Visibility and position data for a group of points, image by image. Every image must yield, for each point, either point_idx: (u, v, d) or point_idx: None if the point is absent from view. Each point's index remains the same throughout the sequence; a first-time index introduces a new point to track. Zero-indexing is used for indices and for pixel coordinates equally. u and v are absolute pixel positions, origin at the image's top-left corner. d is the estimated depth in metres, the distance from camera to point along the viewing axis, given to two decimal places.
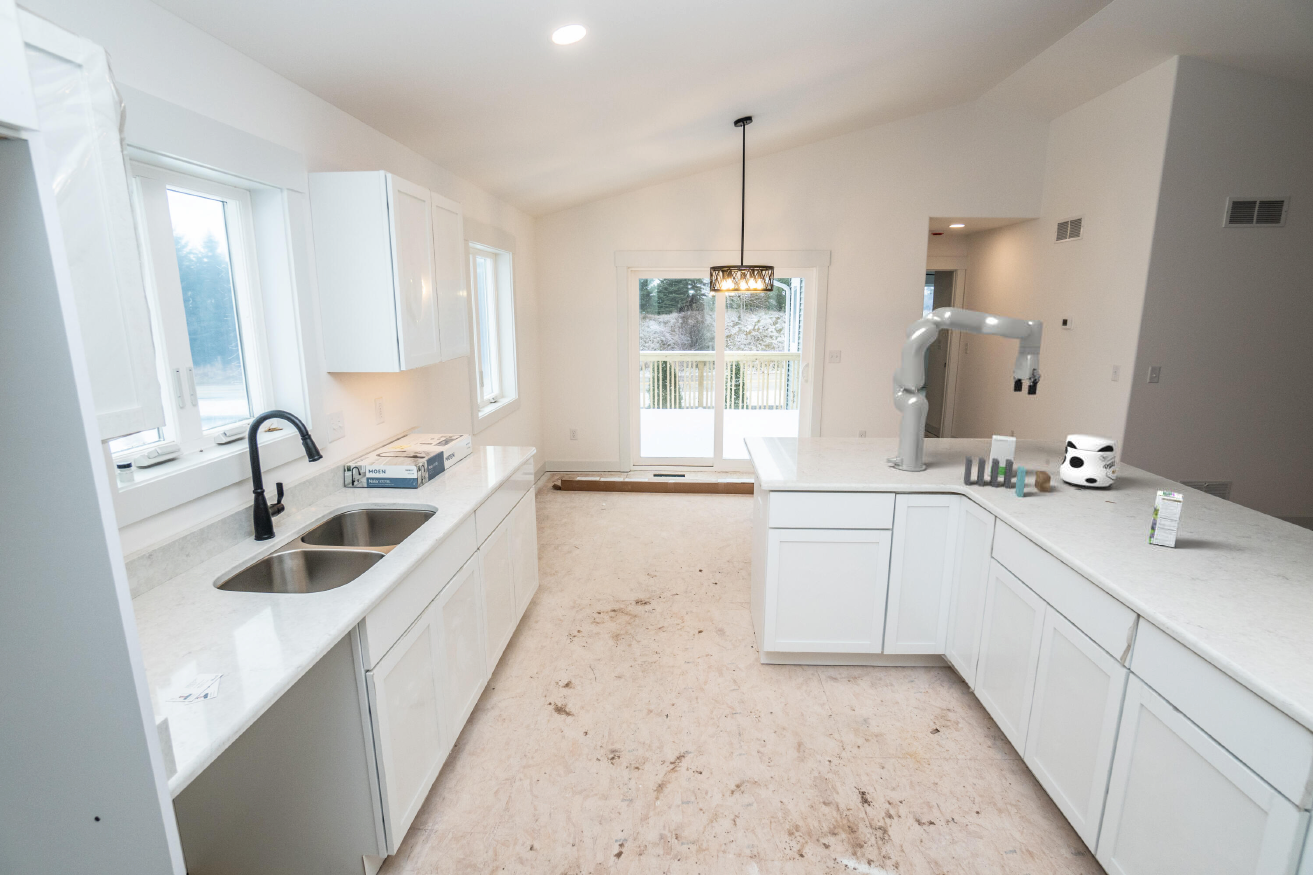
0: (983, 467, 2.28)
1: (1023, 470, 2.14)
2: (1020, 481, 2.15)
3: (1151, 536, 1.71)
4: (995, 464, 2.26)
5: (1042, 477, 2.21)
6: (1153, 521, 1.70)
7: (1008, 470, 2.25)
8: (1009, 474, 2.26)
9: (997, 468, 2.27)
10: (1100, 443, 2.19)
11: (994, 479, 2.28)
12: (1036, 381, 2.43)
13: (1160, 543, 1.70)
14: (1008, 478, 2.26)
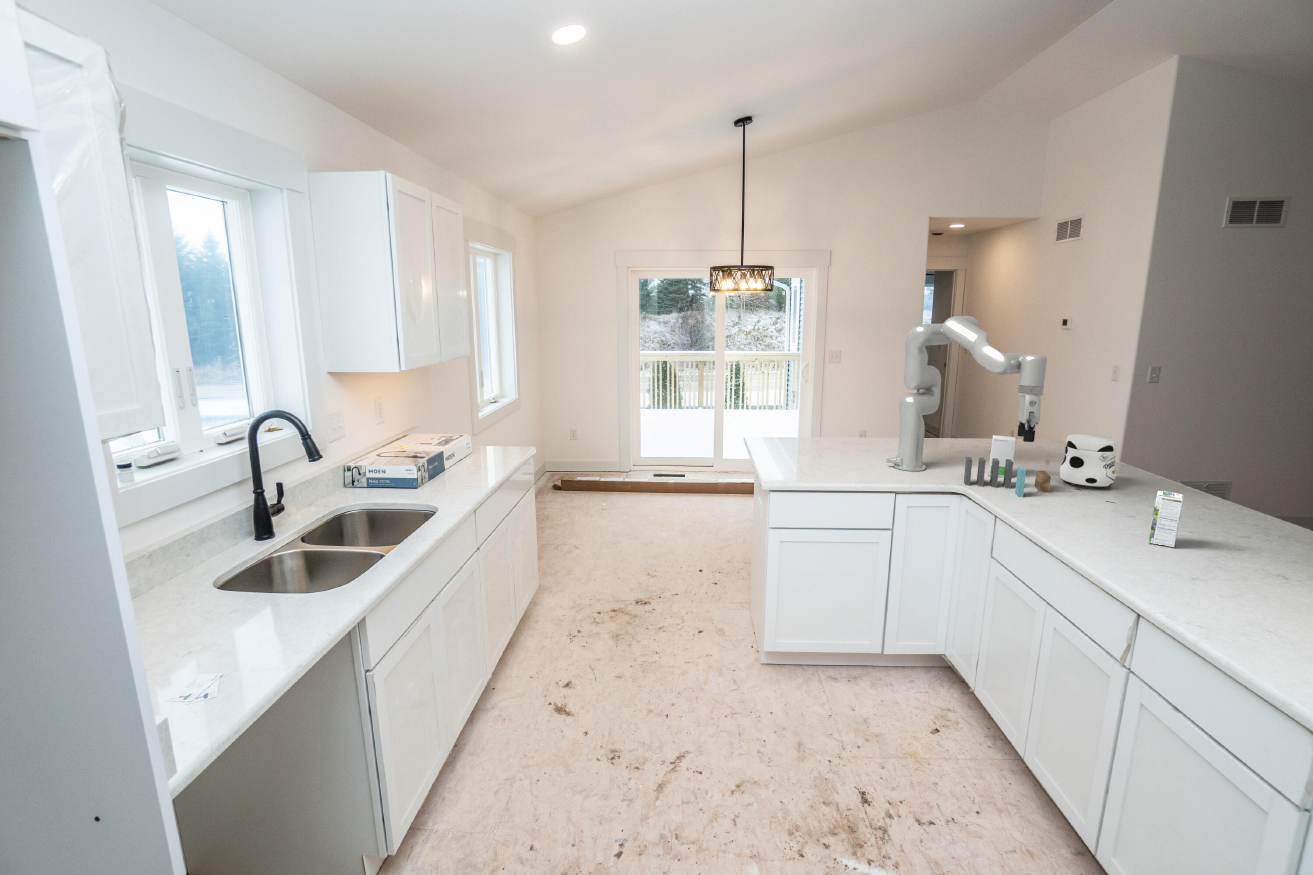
0: (983, 467, 2.28)
1: (1023, 470, 2.14)
2: (1020, 481, 2.15)
3: (1151, 536, 1.71)
4: (995, 464, 2.26)
5: (1042, 477, 2.21)
6: (1153, 521, 1.70)
7: (1008, 470, 2.25)
8: (1009, 474, 2.26)
9: (997, 468, 2.27)
10: (1100, 443, 2.19)
11: (994, 479, 2.28)
12: None
13: (1160, 543, 1.70)
14: (1008, 478, 2.26)
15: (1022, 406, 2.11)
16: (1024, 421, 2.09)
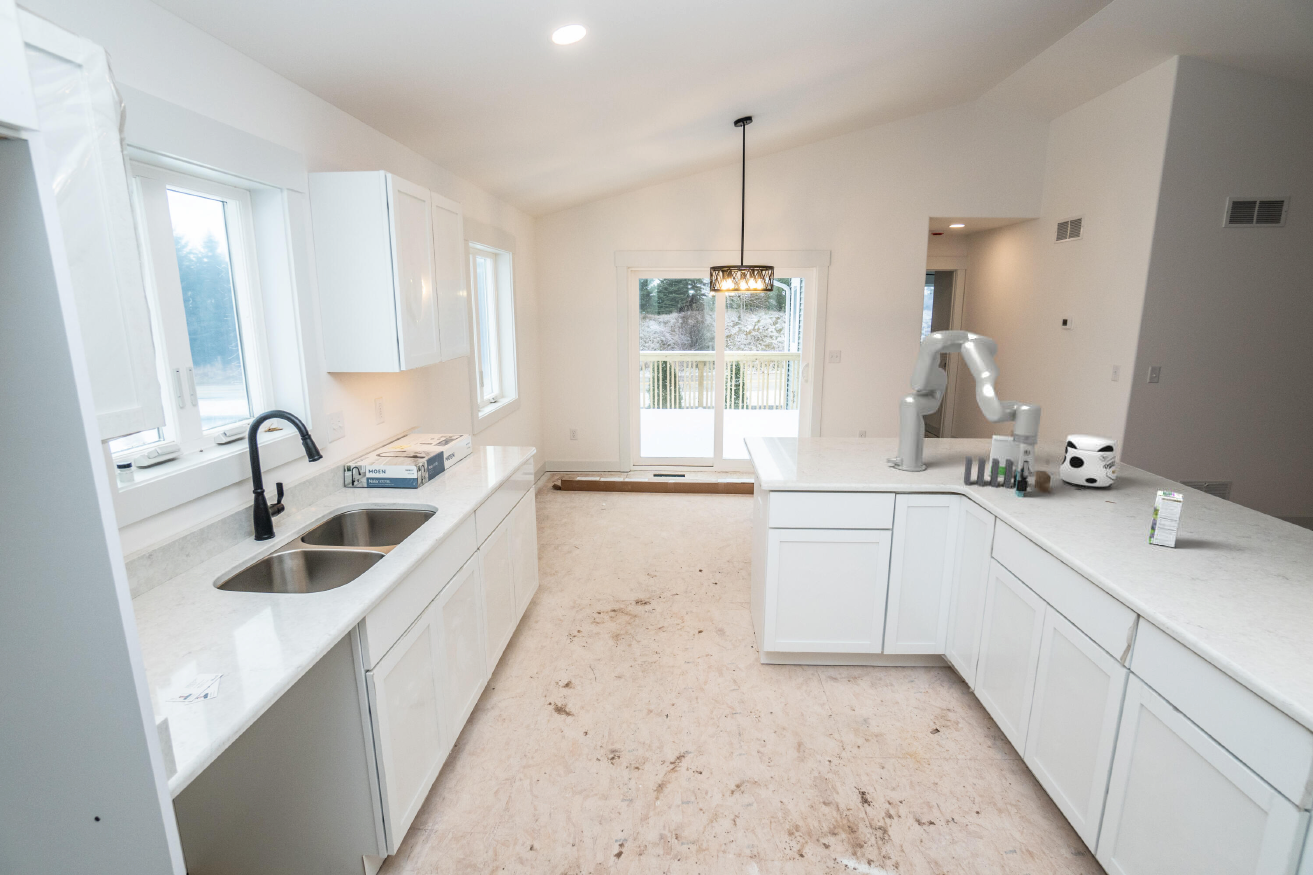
0: (983, 467, 2.28)
1: None
2: None
3: (1151, 536, 1.71)
4: (995, 464, 2.26)
5: (1042, 477, 2.21)
6: (1153, 521, 1.70)
7: (1008, 470, 2.25)
8: (1009, 474, 2.26)
9: (997, 468, 2.27)
10: (1100, 443, 2.19)
11: (994, 479, 2.28)
12: None
13: (1160, 543, 1.70)
14: (1008, 478, 2.26)
15: (1017, 454, 2.14)
16: (1018, 469, 2.13)
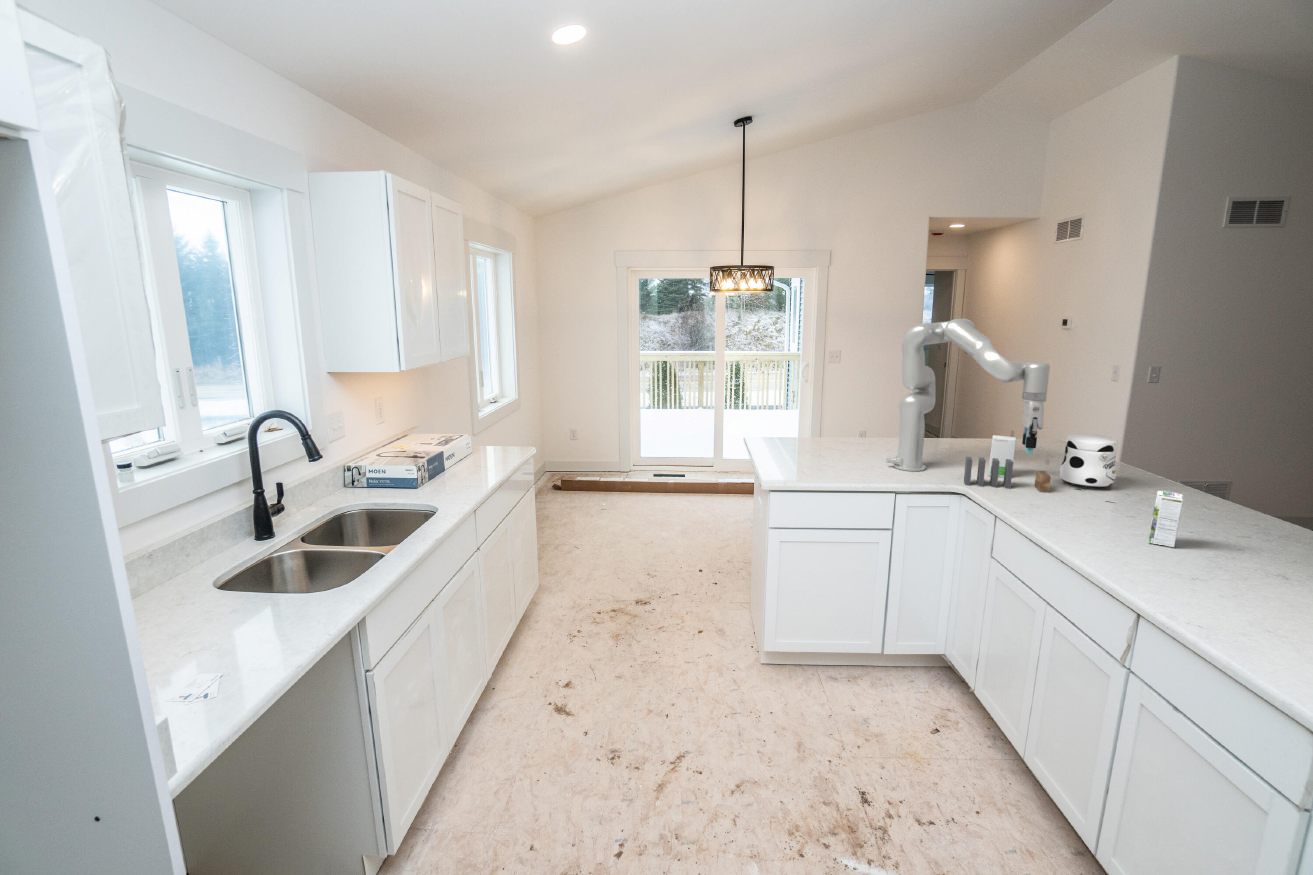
0: (983, 467, 2.28)
1: (1032, 427, 2.20)
2: None
3: (1151, 536, 1.71)
4: (995, 464, 2.26)
5: (1042, 477, 2.21)
6: (1153, 521, 1.70)
7: (1008, 470, 2.25)
8: (1009, 474, 2.26)
9: (997, 468, 2.27)
10: (1100, 443, 2.19)
11: (994, 479, 2.28)
12: None
13: (1160, 543, 1.70)
14: (1008, 478, 2.26)
15: (1026, 412, 2.20)
16: (1028, 426, 2.19)
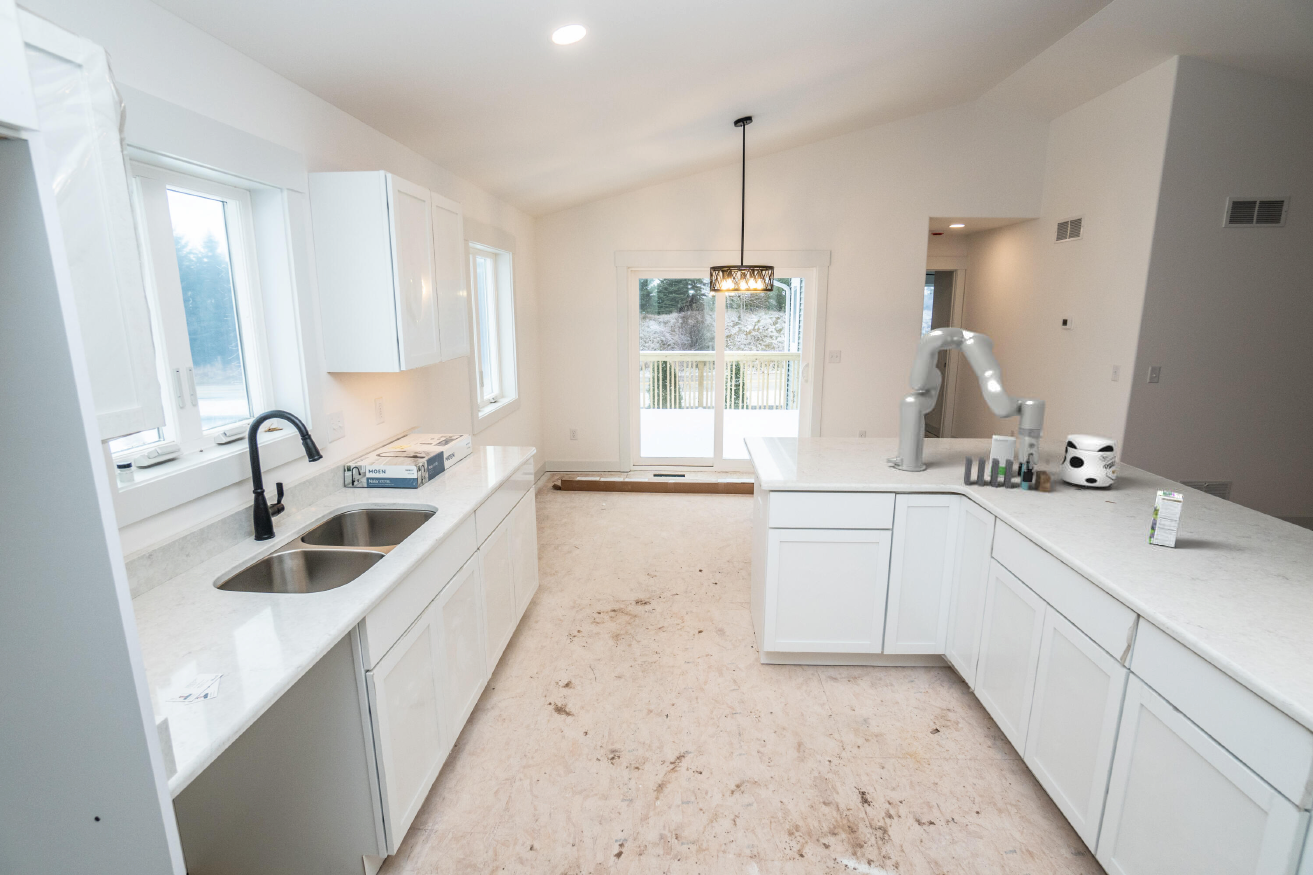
0: (983, 467, 2.28)
1: None
2: None
3: (1151, 536, 1.71)
4: (995, 464, 2.26)
5: (1042, 477, 2.21)
6: (1153, 521, 1.70)
7: (1008, 470, 2.25)
8: (1009, 474, 2.26)
9: (997, 468, 2.27)
10: (1100, 443, 2.19)
11: (994, 479, 2.28)
12: None
13: (1160, 543, 1.70)
14: (1008, 478, 2.26)
15: (1022, 447, 2.23)
16: (1023, 462, 2.21)
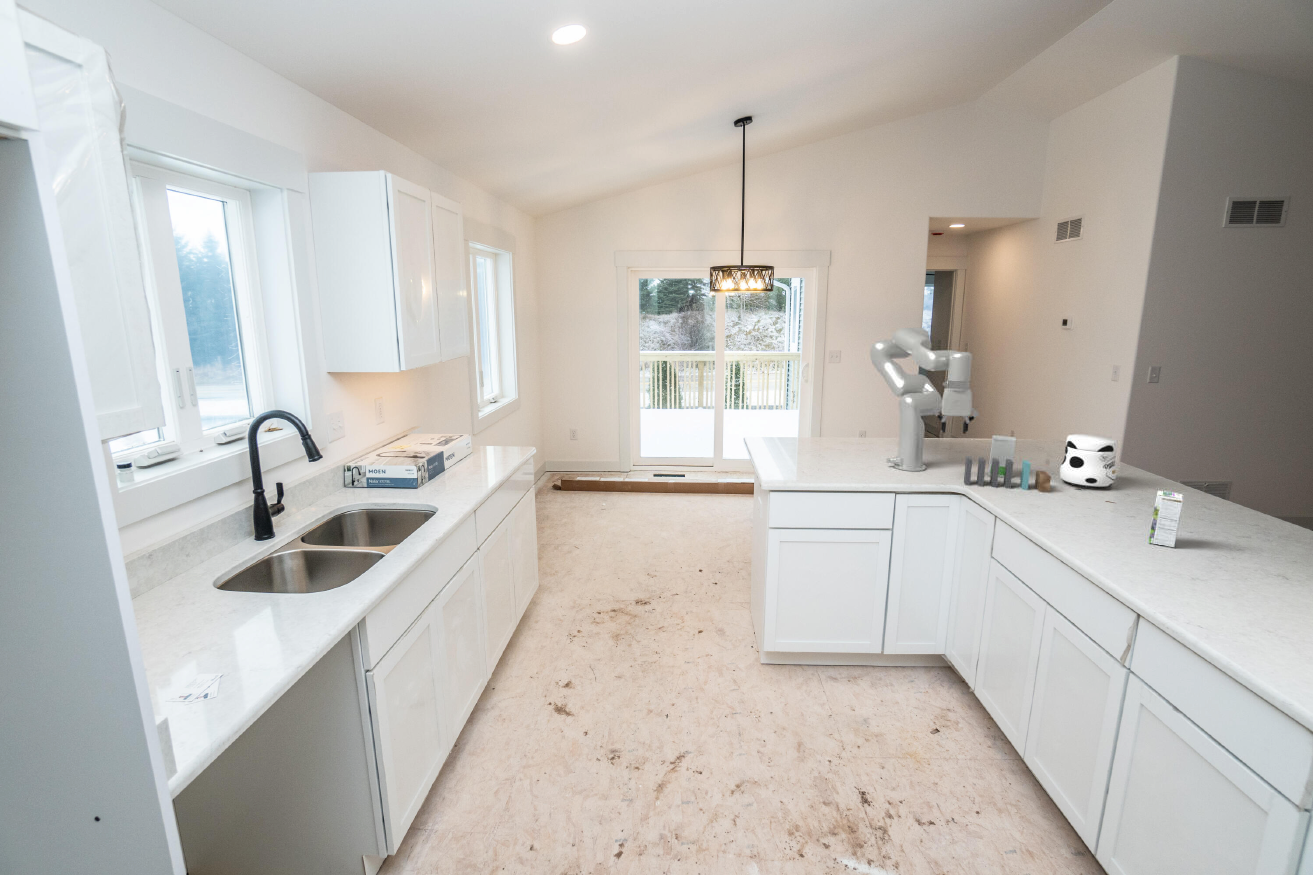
0: (983, 467, 2.28)
1: (1028, 464, 2.23)
2: (1025, 474, 2.24)
3: (1151, 536, 1.71)
4: (995, 464, 2.26)
5: (1042, 477, 2.21)
6: (1153, 521, 1.70)
7: (1008, 470, 2.25)
8: (1009, 474, 2.26)
9: (997, 468, 2.27)
10: (1100, 443, 2.19)
11: (994, 479, 2.28)
12: (973, 418, 2.28)
13: (1160, 543, 1.70)
14: (1008, 478, 2.26)
15: None
16: None
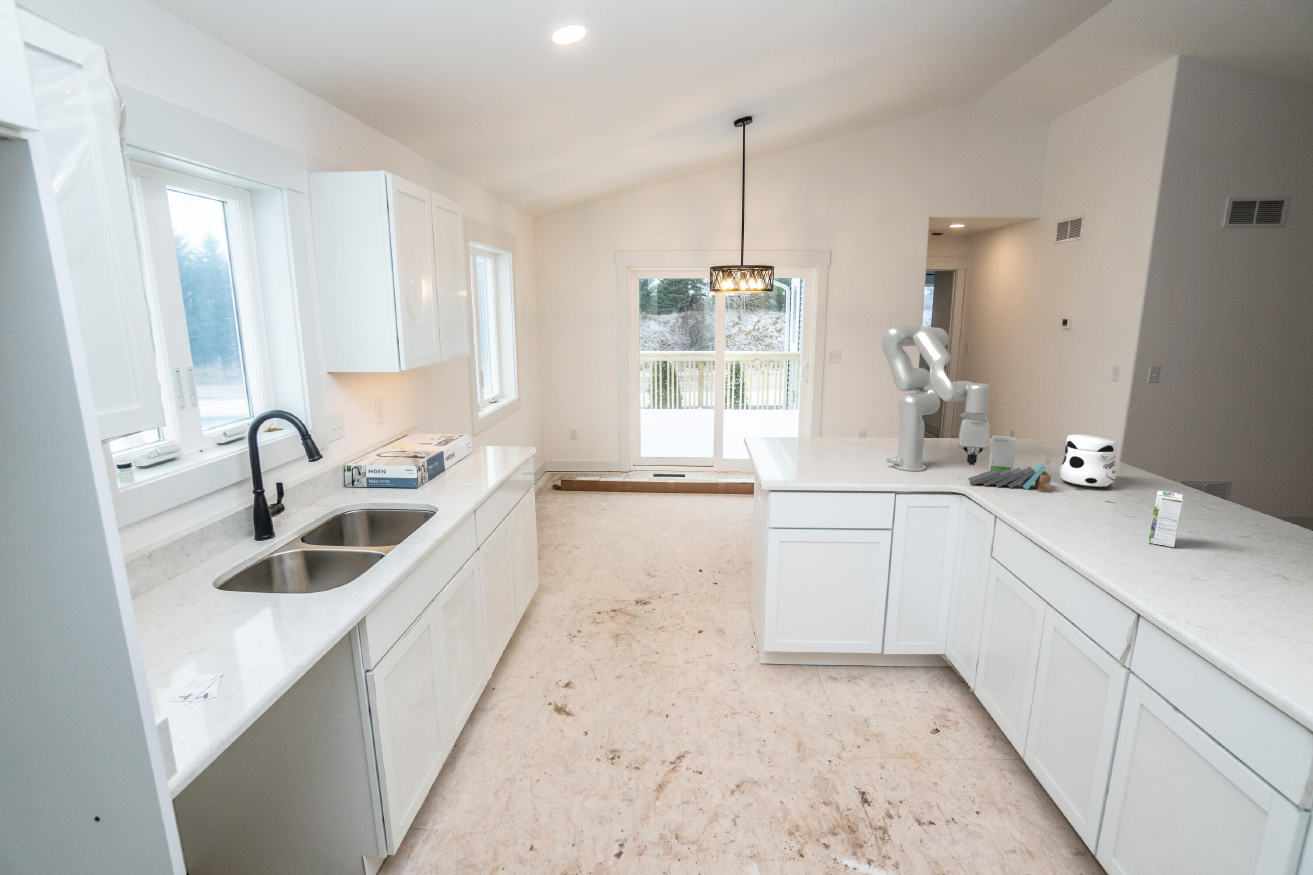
0: (1004, 477, 2.26)
1: (1043, 467, 2.21)
2: (1034, 475, 2.23)
3: (1151, 536, 1.71)
4: (1019, 473, 2.24)
5: (1042, 477, 2.21)
6: (1153, 521, 1.70)
7: (1025, 475, 2.24)
8: (1022, 478, 2.24)
9: (1016, 477, 2.25)
10: (1100, 443, 2.19)
11: (1004, 481, 2.27)
12: None
13: (1160, 543, 1.70)
14: (1018, 480, 2.25)
15: None
16: None
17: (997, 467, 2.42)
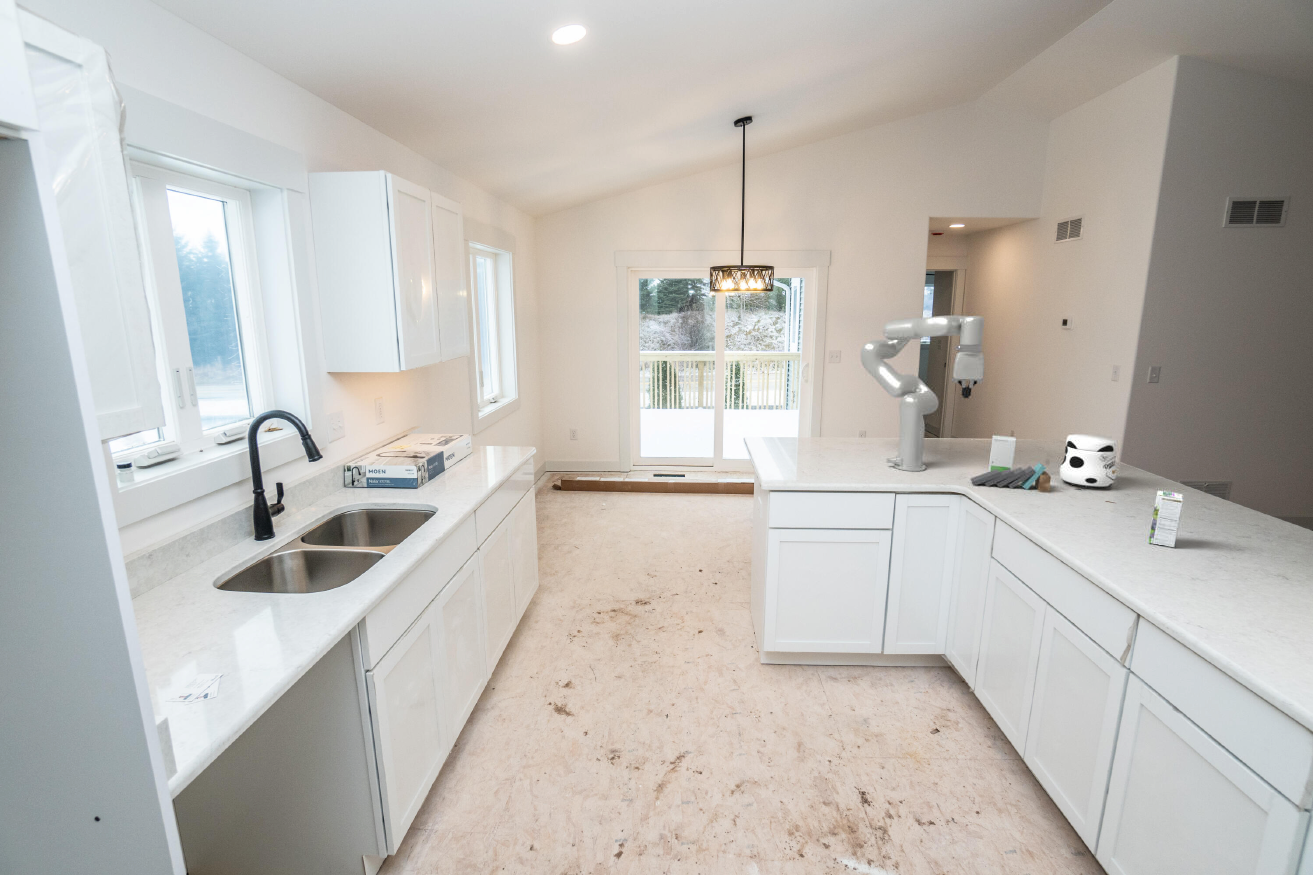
0: (1006, 477, 2.26)
1: (1043, 467, 2.21)
2: (1034, 475, 2.23)
3: (1151, 536, 1.71)
4: (1020, 472, 2.24)
5: (1042, 477, 2.21)
6: (1153, 521, 1.70)
7: (1025, 474, 2.24)
8: (1022, 478, 2.24)
9: (1017, 476, 2.25)
10: (1100, 443, 2.19)
11: (1005, 481, 2.26)
12: (976, 383, 2.31)
13: (1160, 543, 1.70)
14: (1018, 480, 2.25)
15: None
16: None
17: (997, 467, 2.42)
